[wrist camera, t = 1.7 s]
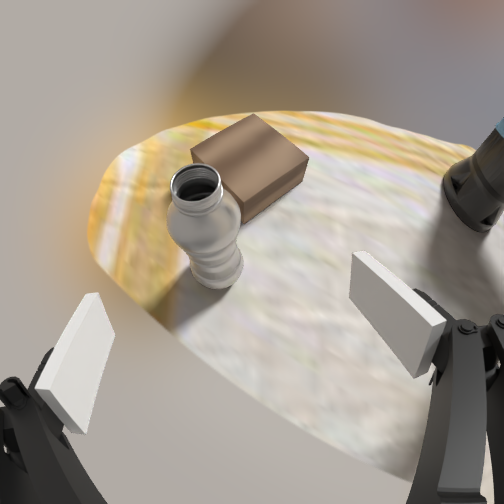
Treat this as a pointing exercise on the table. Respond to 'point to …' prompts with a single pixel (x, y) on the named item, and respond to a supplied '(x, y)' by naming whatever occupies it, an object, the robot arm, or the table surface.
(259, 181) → the walnut block
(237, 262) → the plastic bottle
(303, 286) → the table surface
